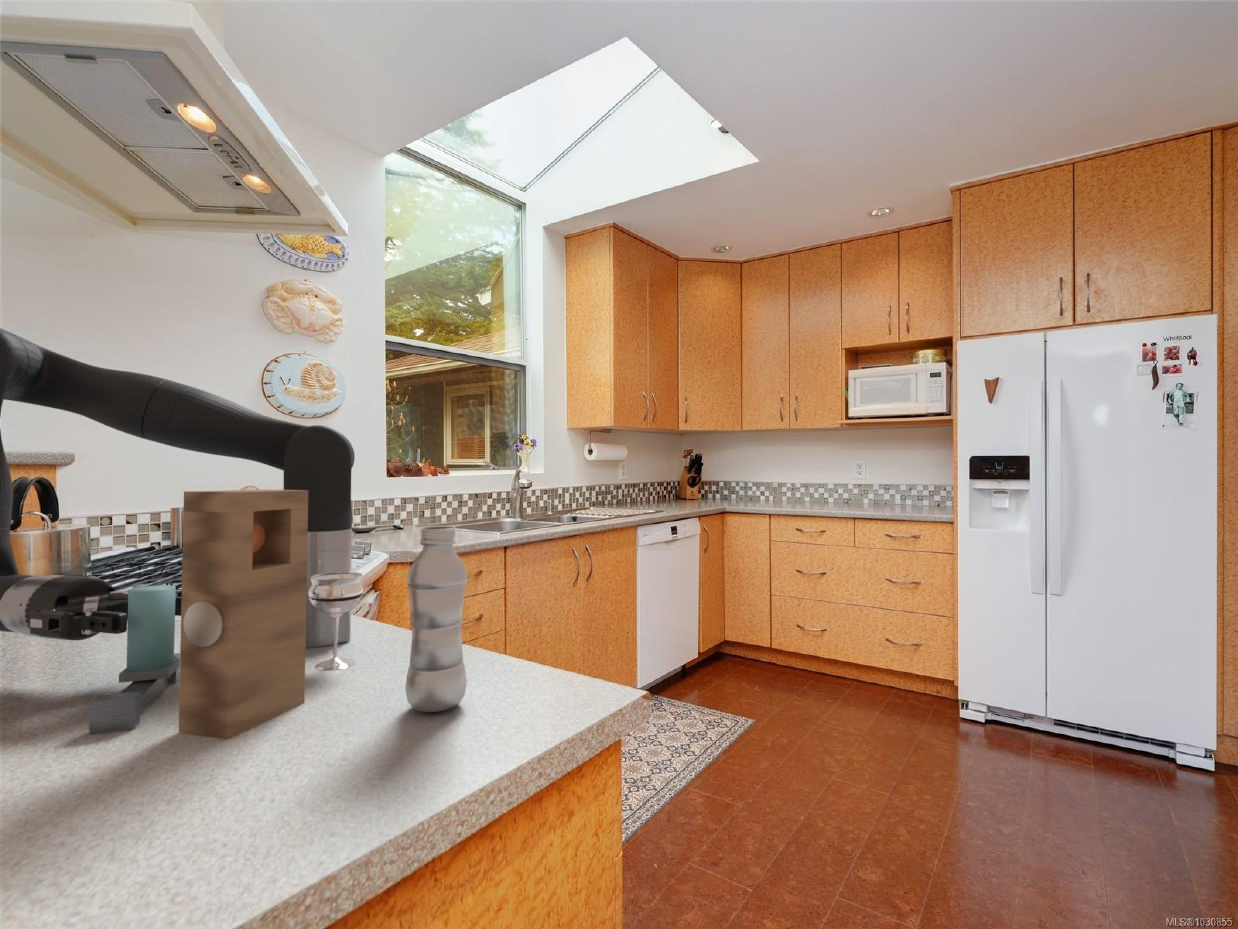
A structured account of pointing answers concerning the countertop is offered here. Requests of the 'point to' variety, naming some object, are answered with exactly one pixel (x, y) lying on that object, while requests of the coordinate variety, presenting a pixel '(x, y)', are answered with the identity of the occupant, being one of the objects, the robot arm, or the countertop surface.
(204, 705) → the wooden window block
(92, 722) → the rail
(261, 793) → the countertop surface
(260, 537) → the plunger
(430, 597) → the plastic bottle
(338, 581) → the wineglass
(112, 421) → the robot arm
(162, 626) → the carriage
